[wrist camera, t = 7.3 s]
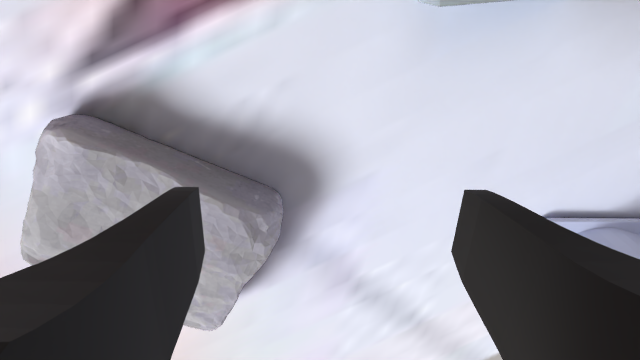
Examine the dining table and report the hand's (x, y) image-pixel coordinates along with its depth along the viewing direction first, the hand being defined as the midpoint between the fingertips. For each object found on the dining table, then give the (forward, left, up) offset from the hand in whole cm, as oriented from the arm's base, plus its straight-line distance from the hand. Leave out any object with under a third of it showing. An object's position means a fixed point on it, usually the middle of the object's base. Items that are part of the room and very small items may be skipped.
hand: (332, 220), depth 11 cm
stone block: (+8, +7, -11) cm, 15 cm away
